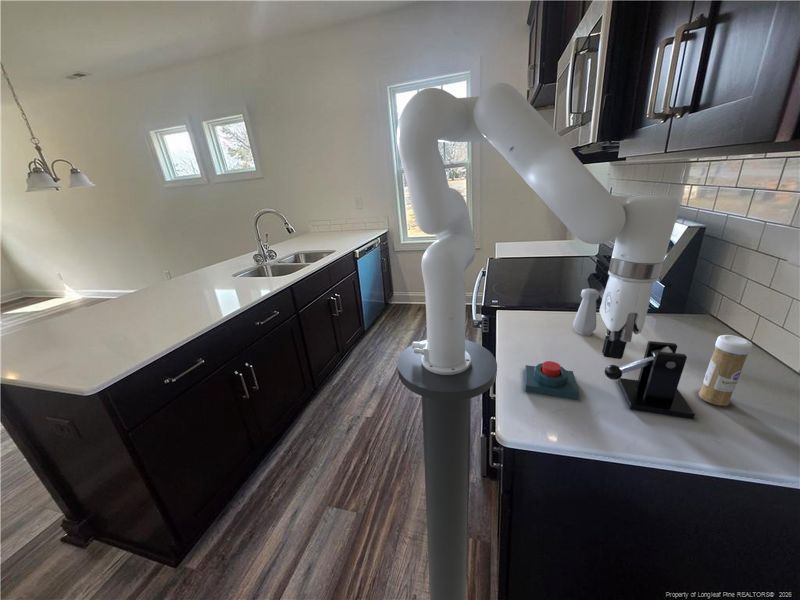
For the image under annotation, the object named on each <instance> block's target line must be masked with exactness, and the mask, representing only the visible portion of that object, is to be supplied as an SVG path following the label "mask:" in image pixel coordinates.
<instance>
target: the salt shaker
mask: <svg viewBox="0 0 800 600" xmlns="http://www.w3.org/2000/svg"><path fill="white" fill-rule="evenodd" d="M580 297H581V298H582V300H581V302H580V305H579V307H578V310H577V313H576V315H575V317H574V320H573V323H572V325H573V328H574V330H575V334H578V335H580V336H590V335H592V334H593V332H594V331H595V330H597V326H598V325H597V300H599V297H600V292H599V290H598V289H595V288H589V287H587V288H584V289H582V290H581V293H580Z"/></svg>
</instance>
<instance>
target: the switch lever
mask: <svg viewBox="0 0 800 600" xmlns="http://www.w3.org/2000/svg"><path fill="white" fill-rule="evenodd" d="M656 351H659V352H668V353H673V352H672V351H671V349H670V348H669V347H668V346H667V347H664V348H661V349H658V350H654V351H652V354H653V355H654V356H655V353H656ZM654 356H652V357H648V358H645V359H644V358H643V359H639V360H635V361H633V362H629V363H626V364H623V365H619V366H618V365H616V364H610V365H607V366H606V367H605V369H604V375H605V376H606V377H607V378H608V379H610V380H613V381H618V379H619V378H622V377H623V374H625V373H629V372H632V371H636V370H639V369H641V368H642V367H646V366H649V365H652V364H653V360H654Z"/></svg>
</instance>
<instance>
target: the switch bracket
mask: <svg viewBox="0 0 800 600" xmlns="http://www.w3.org/2000/svg"><path fill="white" fill-rule="evenodd" d="M667 346H668V347H669V348H670V349H671V351H672V352H673V353H668V352H659V351H656V353H655V356H654V355H653V354H652V351H654V350H658V349H661V348H664V347H667ZM677 349H678V344H677V343H674V342H665V341H653V340H648V341H647V343H646V348H645V352H644V355H643V359H645V358H648V357H652V356H654V360H653V364H652V365H649V366H646V367H642V368H640V371H639V375H638V378H637V379H631V378H624V377H623V378H622V377H621V378H619V379H617V384H618V386H619V388H620V391H621V393H622V395H623V397H624V400H625V402H626V404H627V406H628V409H629V410H632V411H638V412H645V413H651V414H656V415H663V416H670V417H676V418H682V419H688V420H689V419H690V420H695V419H694V418H695V417H696V413H695V412H694V410H693V409H692V407H691V406H690V405H689V403H688V402H687V401H686V399H685V398H684V396H683V395H682V394H681V392H680V391H679V389H678V387H679V383H680V380H681V377H682V374H683V371H684V368H685V365H686V361H687V358H688V356H687V355H686V354H685V353H678V352H677ZM676 352H677V353H676Z"/></svg>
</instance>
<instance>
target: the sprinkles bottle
mask: <svg viewBox="0 0 800 600" xmlns="http://www.w3.org/2000/svg"><path fill="white" fill-rule="evenodd" d="M714 345H715V346H714V347H715V348H714V351H713V353H712V356H711V358H710V361H709V364H708V366H707V369H706V372H705V375H704V378H703V382H702V386H701V388H700V390H699V392H698V396H699V398H700V399H702V400H703V401H705V402H707V403H709V404H710V405H714V406H719V407H720V406H721V407H726V406H729V405H730V402H731V398H732V395H733V392H734V391H735V389H736V387H737V384H738V381H739V379H740V377H741V374H742V370H743V368H744V365H745V362H746V361H747V360H746V359H747V357H748V356H749V354H751V351H752V348H753V343H752V342H751V341H750V340H748V339H746V338H743V337H742V336H741V337H740V336H737V335H732V334H722V335H719V336H718V337H717V339H716V341H715V344H714Z"/></svg>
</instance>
